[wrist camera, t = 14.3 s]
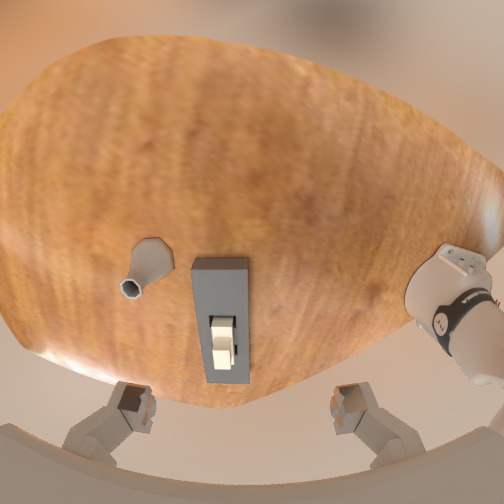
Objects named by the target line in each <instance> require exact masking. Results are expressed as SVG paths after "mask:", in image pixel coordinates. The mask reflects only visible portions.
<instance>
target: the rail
mask: <svg viewBox="0 0 504 504" xmlns="http://www.w3.org/2000/svg"><path fill="white" fill-rule="evenodd" d="M191 276H192V285H193V293H194V301H195V309H196V316H197V323H198V330H199V337H200V343H201V350H202V356H203V362H204V368H205V374H206V379H207V383H223V384H250V366H249V304H248V258H196V259H195V261H194V263H193V266H192V268H191ZM214 315H218V316H234V320H233V342H234V345H235V356H234V358H235V359H234V365H231V370H226V369H215V367H214V359H213V352H212V349H213V338H212V329H211V325H212V321H213V318H214Z"/></svg>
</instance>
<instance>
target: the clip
mask: <svg viewBox="0 0 504 504" xmlns="http://www.w3.org/2000/svg"><path fill="white" fill-rule="evenodd" d="M233 320H234V316H218V315H214V318H213V321H212V325H211V329H212V338H213V349H212V352H213V359H214V367H215V369H226V370H231V365H234V359H235V358H234V356H235V345H234V342H233Z"/></svg>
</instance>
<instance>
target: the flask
mask: <svg viewBox="0 0 504 504" xmlns="http://www.w3.org/2000/svg"><path fill="white" fill-rule="evenodd" d="M173 269H175V267H174V261H173V254H172V251H171V250H170V249H169V248H168V247H167V245H166V244H165V243H164V242H163V241H162V240H161V239H160V238H149V239H142V240H141V241H140V242H139V243H138V244H137V245H136V246H135V247H134V248H133V249H132V252H131V264H130V271H129V274H128V276H127V277H126V278H125V279H124V280H123V281H122V282H120V284H119V285H120V289H121V293H122V294H123V295H124V296H125V297H126V298H127V299H138V298H139V297H140V296H141V295H142V294H143V291H142V290H143V288H144V287H145V286H146V285H148V284H150V283H152V282H155V281H157V280H160V279H162V278H164V277H165V276H166V275H167V274H169V273H170V272H171V271H172V270H173Z"/></svg>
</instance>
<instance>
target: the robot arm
mask: <svg viewBox="0 0 504 504" xmlns="http://www.w3.org/2000/svg"><path fill="white" fill-rule="evenodd" d="M491 289H492V277H491V275H490V274H489V273H488V272H487V271H486V258H485V256H483V255H482V254H479V253H476V252H473V251H470V250H467V249H463V248H460V247H457V246H454V245H451V244H447V243H444V244H442V245H441V246H440V248H439V249H438V250H437V252H436V253H435V255H434V256H433V257H432V258H430V259H429V260H428V261H426V262H425V263H424V264H423V265H422V266H421V267H420V268H419V269H418V270H417V271H416V273H415V274H414V275H413V277H412V279H411V281H410V283H409V285H408V287H407V290H406V294H405V307H406V310H407V312H408V314H409V315H410V316H411V317H413V318H414V319H415V320H416V323H417V326H418V327H419V328H420V329H422V330H423V329H425V330H426V331H427V332H428V333H429V334H430V336H431V337H433V339H434V340H436V342H437V343H439V344H440V345H441V346H442V349H443V350H444V351H445V352H446V353H447V354H448V355H449V356H451V357H453V358H454V359H455V361H456V362H457V363H458V365H459V366H460V368H461V369H462V371H463V372H464V373H465V375H466V376H467V378H468V379H469V381H470V382H471V383H473V384H475V385H479V386H480V385H481V386H482V385H487V384H490V383H493V382H495V383H497V384H498V385H500V386H501V387H502V388H503V389H504V312H503V311H502V310H501V309H500V308H498V307H499V304H500V302H499V303H498V306H497V301H498V300H496V302H495V301H494V300H493V298H492V296H491ZM151 392H152V390H151V388H150V386H145V385H139V384H133V383H127V382H121V381H119V382H118V383H117V384H116V386H115V388H114V391H113V393H112V395H111V398H110V400H109V402H108V405H107V407H105V406H103V407H102V408H100V409H99V410H98V411H96V412H94V413H93V414H92V415H90V416H89V417H87V418H86V419H84V420H83V421H81V422H79V423H78V424H76V425H75V426H73V427H72V428H71V429H70V430H69V432H68V435H67V437H66V439H65V441H64V444H63V446H62V448H59V447H57V446H54V445H52V444H50V443H48V442H46V441H44V440H41V439H39V438H37V437H35V436H33V435H31V434H29V433H27V432H25V431H24V430H22V429H20V428H18V427H17V426H15V425H13V424H9V423H8V424H4V425H2V426H0V504H504V404H503V406H502V407H501V409H500V410H499V411H498V413H497V414H496V416H495V417H494V418H493V420H492V421H491V423H490V425H489V427H485V426H481V427H479V428H476V429H475V430H473V431H471V432H469V433H467V434H465V435H463V436H461V437H459V438H457V439H455V440H453V441H451V442H448V443H446V444H444V445H442V446H439V447H437V448H435V449H432V450H430V451H427V452H426V450H425V448H424V446H423V443H422V441H421V439H420V436H419V434H418V432H417V431H416V430H414V429H413V428H412V427H410V426H408V425H407V424H406V423H404V422H402V421H401V420H400V419H398V418H397V417H395V416H394V415H392V414H391V413H389V412H388V411H386V410H385V409H383V408H379V406H378V404H377V401H376V398H375V396H374V394H373V392H372V389H371V387H370V384H369V383H368V382H363V383H357V384H356V383H355V384H349V385H342V386H336V387H335V389H334V396H333V397H332V398H331V402H330V410H331V414H332V416H333V417H334V418H335V421H334V427H335V431H336V435H340V434H347V433H353V432H354V434H355V435H356V436H358V438H360V439H361V440H362V441H363V442H364V443H365V444H366V445H367V446H368V447H369V448H370V449H371V450H372V451H374V453H376V454H377V455H378V456H377V457H376V458H375V459H374V461H373V462H372V463H371V464H370V468H371V470H368V471H364V472H360V473H355V474H350V475H345V476H340V477H335V478H329V479H322V480H316V481H308V482H298V483H287V484H272V485H224V484H207V483H197V482H188V481H180V480H173V479H167V478H161V477H156V476H150V475H145V474H141V473H137V472H132V471H128V470H124V469H120V468H117V467H116V465H117V462H116V460H115V459H114V458H113V457H112V456H111V455H110V453H111V452H112V451H113V450H114V449H115V448H116V447H117V446H119V445H120V444H121V443H122V442H123V441H124V440H125V439H126V438H127V437H128V436H129V435H130V434H131V433H132V432H133V431H136V432H142V433H148V434H149V433H150V430H151V426H152V423H153V422H152V420H151V417H153V416H154V415H155V412H156V400H155V397H154V396H153V395H151Z"/></svg>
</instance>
